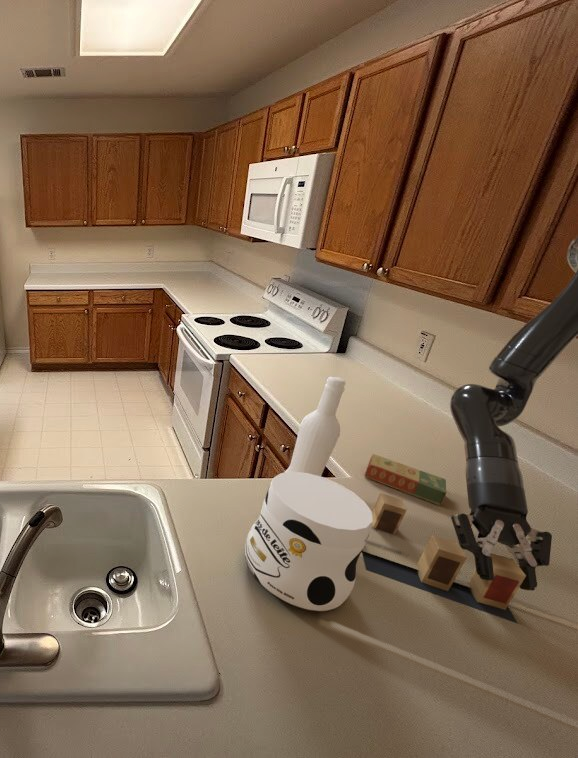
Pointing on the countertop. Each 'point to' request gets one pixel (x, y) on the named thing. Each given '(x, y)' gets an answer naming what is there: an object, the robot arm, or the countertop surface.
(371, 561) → the word mat
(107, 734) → the countertop surface
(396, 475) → the carton
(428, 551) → the brown panel wooden block
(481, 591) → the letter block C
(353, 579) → the milk container
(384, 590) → the countertop surface
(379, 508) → the tan wooden block
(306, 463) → the bottle
